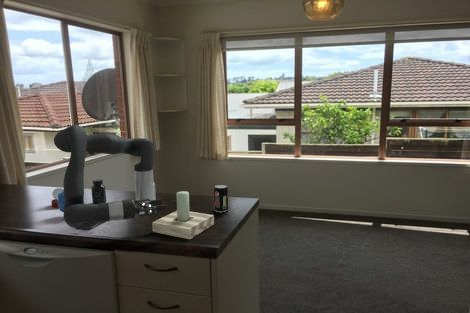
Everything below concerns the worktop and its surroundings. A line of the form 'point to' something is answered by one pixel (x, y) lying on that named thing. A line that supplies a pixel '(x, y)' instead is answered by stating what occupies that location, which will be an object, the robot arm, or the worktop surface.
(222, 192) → the beverage can
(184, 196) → the peg
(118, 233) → the worktop surface
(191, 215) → the socket block
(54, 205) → the canned food
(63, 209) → the grapes
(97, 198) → the supplement bottle
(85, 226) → the phone
